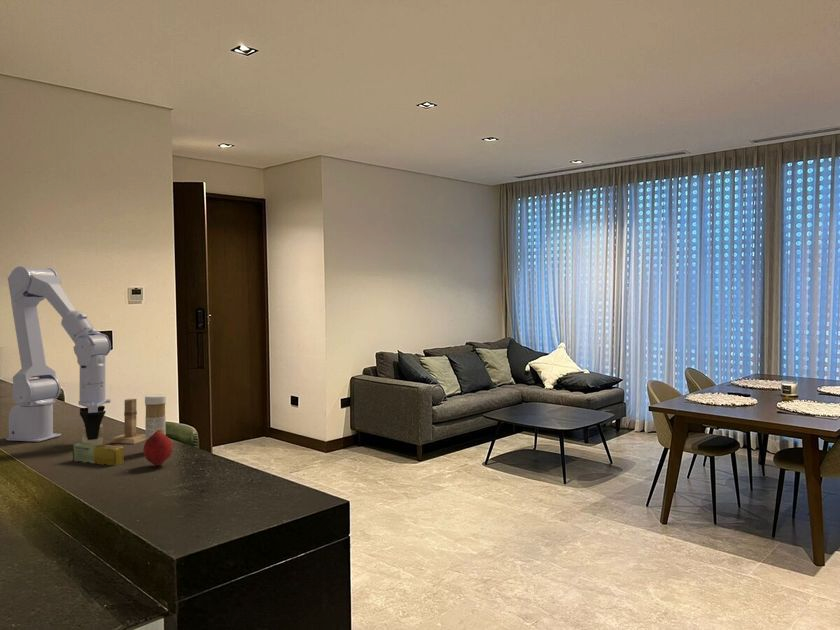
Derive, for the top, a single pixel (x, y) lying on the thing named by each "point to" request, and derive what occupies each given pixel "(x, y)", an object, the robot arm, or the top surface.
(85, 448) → the medication box
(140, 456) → the top surface
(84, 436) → the cube
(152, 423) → the sprinkles bottle
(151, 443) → the onion
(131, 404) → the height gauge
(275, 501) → the top surface
